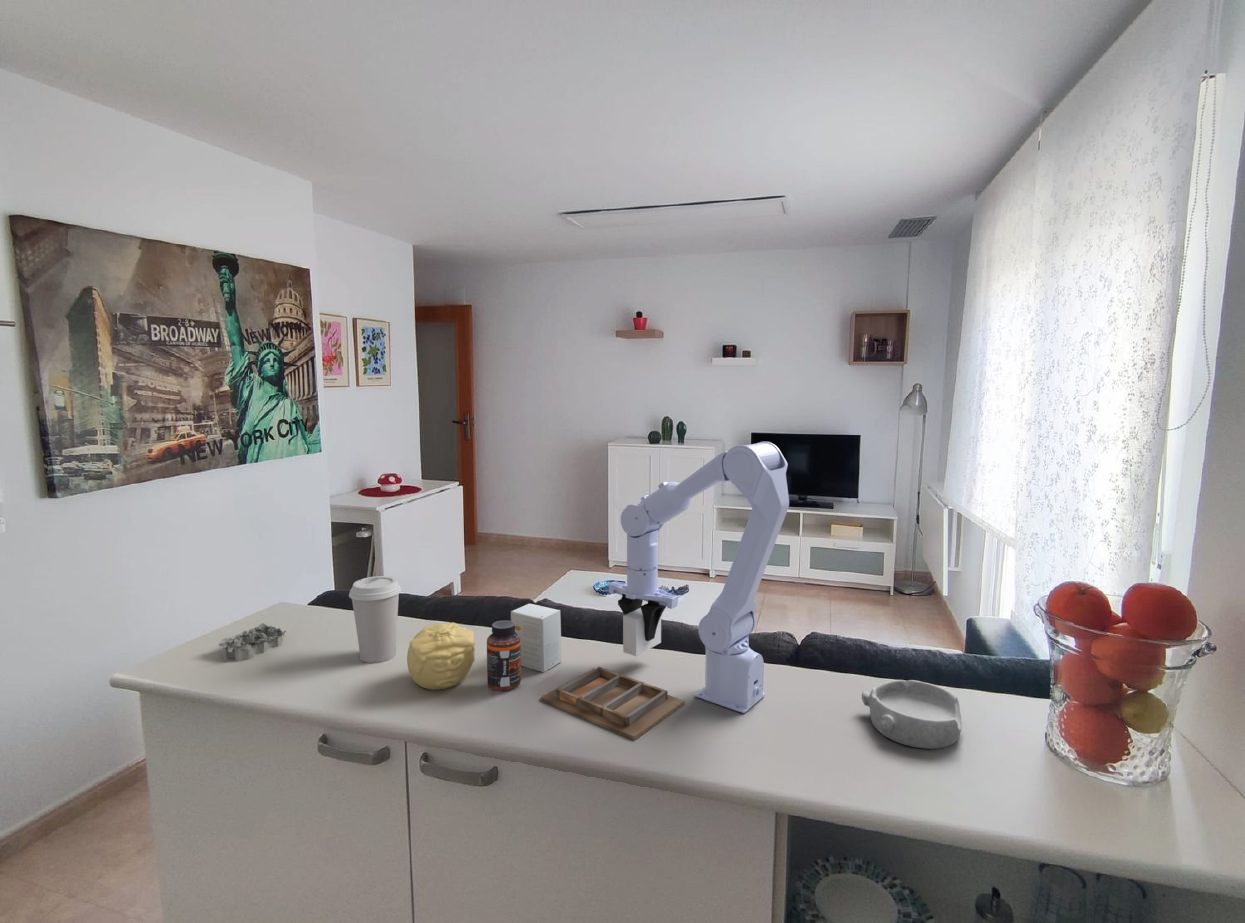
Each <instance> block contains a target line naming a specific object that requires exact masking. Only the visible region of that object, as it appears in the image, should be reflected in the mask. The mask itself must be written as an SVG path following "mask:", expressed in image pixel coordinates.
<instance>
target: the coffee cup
mask: <svg viewBox="0 0 1245 923" xmlns="http://www.w3.org/2000/svg"><path fill="white" fill-rule="evenodd" d="M401 592H402V587H401V585H400V583H399V582H398V580H397V579H396V578H395V577H393V576H387V575H386V576H385V575H383V576H381V575H380V576H379V575H378V576H369V577H364V578H361V579H358V580H356V581H354V582H353V584H352V587H351V589H350V591H349V592H348V593H349V594H348V597H349V598H350V599H351V603H352V608H353V616H354V622H355V629H356V634H357V642H358V649H359V656H360V660H361V661H362V662H364V663H368V664H369V663H370V664H371V663H372V664H374V663H375V664H376V663H382V662H386V661H388V660H390V659H392V658H394V657H395V656H396V654H397V637H398V635H397V634H398V617H399V616H398V615H399V595H400V593H401Z"/></svg>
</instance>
